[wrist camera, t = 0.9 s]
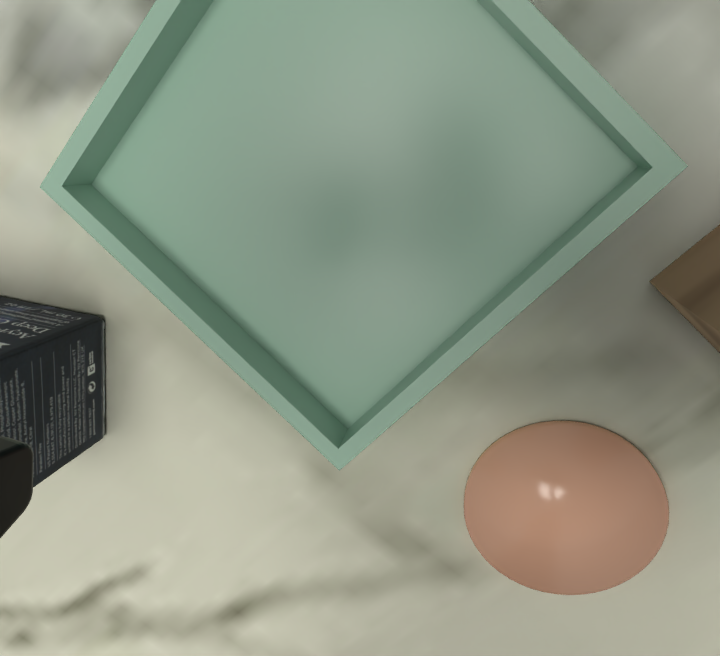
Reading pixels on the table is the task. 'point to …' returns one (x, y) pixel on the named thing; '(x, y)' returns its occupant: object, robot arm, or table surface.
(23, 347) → the box
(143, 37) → the tray
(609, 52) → the table surface
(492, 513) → the pink dome
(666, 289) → the walnut block
